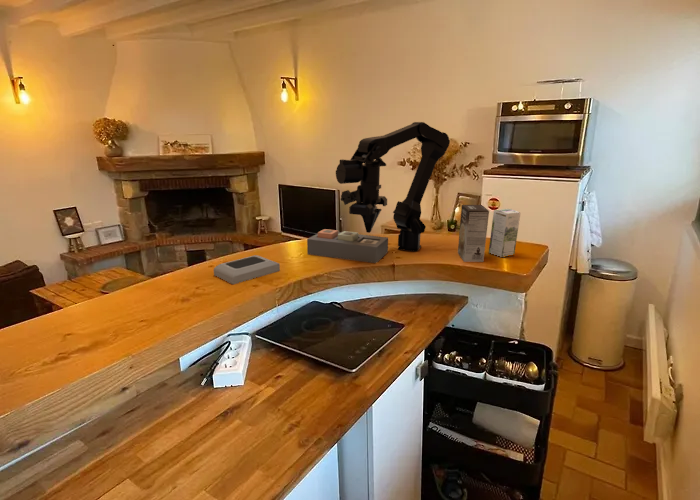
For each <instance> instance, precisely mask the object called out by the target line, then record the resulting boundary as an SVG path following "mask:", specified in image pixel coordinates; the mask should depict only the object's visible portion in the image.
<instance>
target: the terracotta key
mask: <svg viewBox="0 0 700 500" xmlns="http://www.w3.org/2000/svg"><path fill="white" fill-rule="evenodd" d="M338 232H339V230H338V229H337V230H335V229H330V228H329V229H326V228H324V229H322V230H320V231H318V232H317V234H318V238H327V239H334V238H336V237H337V236H338Z"/></svg>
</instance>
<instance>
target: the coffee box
mask: <svg viewBox="0 0 700 500" xmlns="http://www.w3.org/2000/svg"><path fill="white" fill-rule="evenodd" d="M489 215H490V210H489V209H487V208H486V207H485V206H483V205H482V204H462V205H461V212H460V223H459V232H458V234H459V235H458V245H457V254H458V256H459V257H460V258H461V259H462V261H463V263H465V262H469V263H472V262H473V263H477V262H478V263H483V262H484V259H485V253H486V252H485V251H486V241H487V235H488V234H487V233H488V225H489Z"/></svg>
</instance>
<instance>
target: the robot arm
mask: <svg viewBox="0 0 700 500" xmlns="http://www.w3.org/2000/svg"><path fill="white" fill-rule="evenodd" d="M414 139H416V140H417V141H418V142H420V144H421V145H420V150H421V153H420V154H421V158H420V161H419V164H418V166H417V169H416V172H415V174H414V176H413V178H412V179H413V180H412V181H411V183H410V186H409V189H408V192H407V195H406V197H405V198H404V200H402V201H399V200H398V201H397V202H396V205H395V208H394V210H393V212H392V213H393V217H392V219H393V221H394V223H395V225H396V228H397V229H398V230H399V234H398V235H397V236H398V237H397V238H398V239H397V250H400V251H408V252H409V251H410V252H419V251H420V248H422V245H421V234H422V233H425V230H426V224H425V223H424V222H423V221H422V220H421V215H422V208H421V204H422V203H421V202H422V199H423V197H424V195H425V192H426V190H427V187H428V184H429V182H430V179H431V177H432V175H433V172H434V169H435V166H436V164H437V162H439V160H440V159H441V158H442V157H443V156H444V155H445V154H446V152H447V150H448V148H449V146H450V142H451V140H450V137H449V135H448V134H447V132H443V131H441V130H439V129H436V128H434V127H432V126H430V125H429V124H427V123H425V122H424V121H414V122H412V123H411V124H409V125H407V126H406V125H405V126H404V127H401V128H398V129H396V130H394V131H391V132H389V133H386V134H384V135H379V136H371V137H365V138H362V139H361V140H360V141H359V143H358V145H357V148H356V150H355V151H354V153H353V155H352V156H351V158H350V159H343V158H342V159H340V160H339V164H338V165H337V166H336V170H335V177H336V180H337V182H338V184H341V185H344V184H356V183H357V184H358V183H359V185H357V188H356V190H353V191H350V189H346V190H344V191H342V192H341V194H340V201H342V202H343V205H344V206H346V205H348V204H351V203H352V204H351V205H350V206H349V208H348V213H349V215H357V216H358V215H359V216H361V218H362V221H363V224H364V227H365V231H366V233H368V234H369V233H371V232H372V230H373V228H374V226H375V223H376V221H377V220H378V217H379V215H380V213H381V211H382V209H381V208H378V205H379V206H381V205H382V207H386V206H388V198H387V197H386V196H385V195H384V196H383V195H380V189H382V184H380V175H381V174H380V173H381V167H387V163H386V162H385V161H384V160H383V159H382V157H383V156H385V155H386V154H388V152H389V151H390V150H391V149H393V148H396V147H397V146H399V145H402V144H404V143H406V142H409V141H411V140H414ZM354 202H355V203H354Z"/></svg>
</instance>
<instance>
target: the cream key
mask: <svg viewBox="0 0 700 500" xmlns="http://www.w3.org/2000/svg"><path fill="white" fill-rule="evenodd" d="M377 242H378V241H377V240H368V239H364V240H362V241H361V243H370V244H376V243H377Z"/></svg>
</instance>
